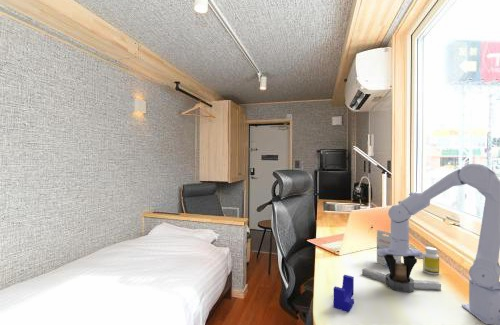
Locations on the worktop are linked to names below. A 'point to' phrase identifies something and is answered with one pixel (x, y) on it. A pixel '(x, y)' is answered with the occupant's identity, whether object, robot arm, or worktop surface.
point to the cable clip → (344, 294)
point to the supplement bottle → (431, 261)
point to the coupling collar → (402, 286)
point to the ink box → (384, 246)
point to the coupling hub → (400, 272)
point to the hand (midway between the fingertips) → (399, 276)
